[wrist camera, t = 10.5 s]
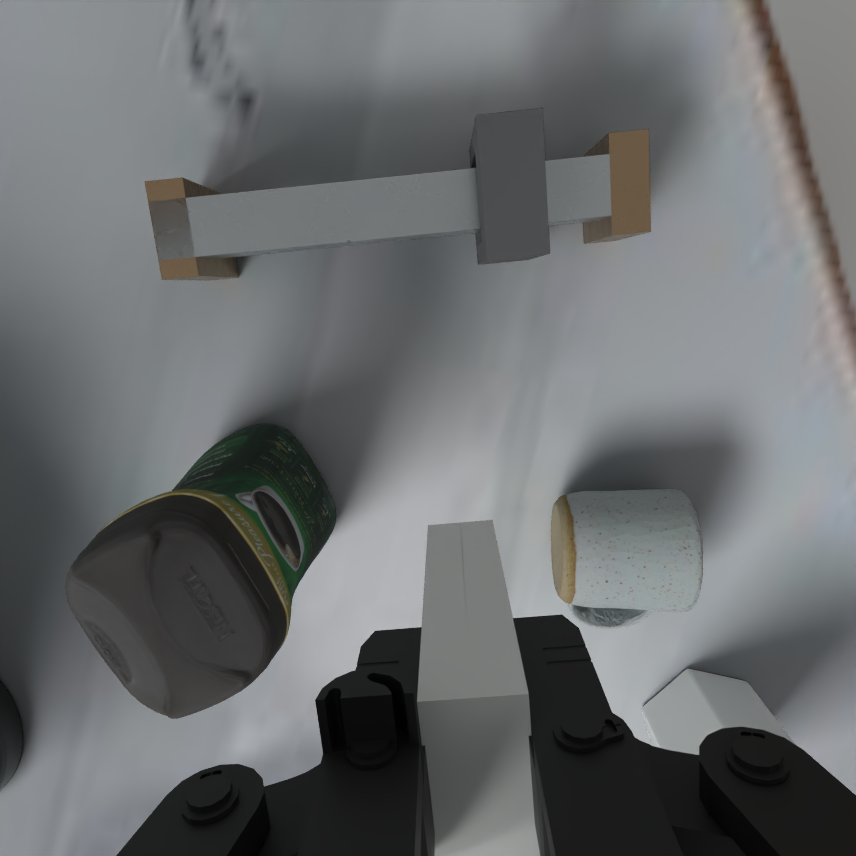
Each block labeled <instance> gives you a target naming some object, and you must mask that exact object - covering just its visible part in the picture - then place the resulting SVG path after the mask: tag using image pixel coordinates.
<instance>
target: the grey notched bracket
mask: <svg viewBox="0 0 856 856" xmlns="http://www.w3.org/2000/svg"><path fill="white" fill-rule="evenodd" d="M469 153H470V166H471V168H476V169H477V183H478V196H479V210H480V224H481V233H476V246H477V259H478V265H479V264H490V263H500V262H510V261H521V260H529V259H532V258H536V257H539V256H543V255H546V254H550V242H549V223H548V204H547V185H546V165H545V146H544V127H543V108H536V109H527V110H518V111H508V112H499V113H490V114H480V115H476V119H475V125H474V130H473V135H472V140H471V145H470V150H469Z"/></svg>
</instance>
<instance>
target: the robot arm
mask: <svg viewBox="0 0 856 856" xmlns="http://www.w3.org/2000/svg"><path fill="white" fill-rule="evenodd" d="M315 701H316V708H317V715H318V721H319V728H320V735H321V741H322V748H323V757H322V761H321V763H320V764H319V765H318V766H316V767H314V768H313V769H311V770H309V771H308V772H306V773H303V774H301V775H298V776H296V777H293V778H291V779H288V780H284V781H281V782H278V783H275V784H272V785H269V786H265V787H264V785H263V779H262V777H261V776H260V775H259V774H258V773H257V772H256V771H255V770H254V769H253V768H249V767H246V766H243V765H240V764H229V765H218V766H215V767H212V768H208V769H205V770H202V771H199V772H198V773H196V774H194V775H192V776H191V777H189V778H187V779H185V780H183V781H182V782H181V783H180V784H179V785H177V786H176V787H175V788H174V789H173V790H172V791H171V792H170V793H169V794H168V795H167V796H166V797H165V798H164V799H163V800H162V802H161V803H160V804H159V805H158V806H157V808H156V809H155V810H154V811H153V812H152V814H151V815H150V816H149V817H148V818H147V820H146V821H145V822H144V823H143V824H142V826H141V827H140V828H139V829H138V830H137V832H136V833H135V834H134V835H133V836H132V838H131V839H130V840H129V841H128V842H127V844H126V845H125V846H124V847H123V848H122V850H121V851H120V852H119V853H118V854H117V856H856V795H855V794H854V793H852V792H851V791H850V790H849V789H848V788H847V787H845V786H844V785H843V784H842V783H841V782H840V781H839V780H837V779H836V778H835V777H834V776H833V775H832V774H830V773H829V772H828V771H827V770H826V769H825V768H824V767H822V766H821V765H820V764H819V763H818V762H817V761H815V760H814V759H813V758H812V757H811V756H810V755H809V754H807V753H806V752H805V751H804V750H803V749H801V748H799V747H798V746H796V745H795V744H793V743H792V742H790V741H789V740H787V739H786V738H784V737H781V736H779V735H776V734H773V733H771V732H768V731H765V730H762V729H755V728H748V727H731V728H722V729H719V730H717V731H715V732H713V733H711V734H708V735H707V736H706V737H705V739H704V740H703V741H702V743H701V744H700V746H699V755H696V754H690V753H684V752H678V751H671V750H667V749H663V748H659V747H655V746H652V745H649V744H647V743H645V742H642V741H640V740H638V739H636V738H635V737H634V736H633V733H632V731H631V730H630V728H629V727H628V726H627V724H626V723H625V722H624V720H623V719H621V718H620V717H618V716H617V715H615V714H613V713H612V711H611V709H610V706H609V704H608V701H607V699H606V696H605V694H604V691H603V689H602V686H601V684H600V681H599V678H598V676H597V673H596V671H595V668H594V666H593V663H592V662H591V658H590V656H589V653H588V651H587V648H586V647H585V643H584V640H583V638H582V635H581V633H580V630H579V628H578V627H577V626H575V625H574V624H573V623H572V622H570V621H569V620H568V619H567V618H565V617H564V616H563V615H551V616H538V617H525V618H513V616H512V612H511V607H510V602H509V597H508V592H507V588H506V583H505V578H504V573H503V568H502V564H501V559H500V554H499V549H498V544H497V540H496V535H495V530H494V525H493V520H487V521H475V522H463V523H451V524H439V525H428V535H427V551H426V567H425V583H424V598H423V614H422V627H420V628H407V629H394V630H381V631H375V632H374V633H373V634H372V635H371V636H370V637H369V638H368V639H367V641H366V642H365V643H364V644H363V645H362V646H361V649H360V653H359V658H358V662H357V667H356V671H351V672H349V673H347V674H344V675H342V676H340V677H337V678H335V679H334V680H333V681H331V682H330V683H329V684H327V685H326V686H325V687H324V688H322V690H321V692H320V693H319V695H318V697H317V698H316V700H315ZM22 741H23V738H22V727H21V722H20V718H19V715H18V712H17V709H16V707H15V705H14V702H13V700H12V698H11V697H10V695H9V693H8V692H7V690H6V689H5V687H4V686H3V685H2V683H1V682H0V791H1V790H2V789H3V788H4V786H5V785H6V784H7V783H8V782H9V780H10V779H11V777H12V776H13V774H14V772H15V770H16V768H17V766H18V763H19V760H20V757H21V752H22Z"/></svg>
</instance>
